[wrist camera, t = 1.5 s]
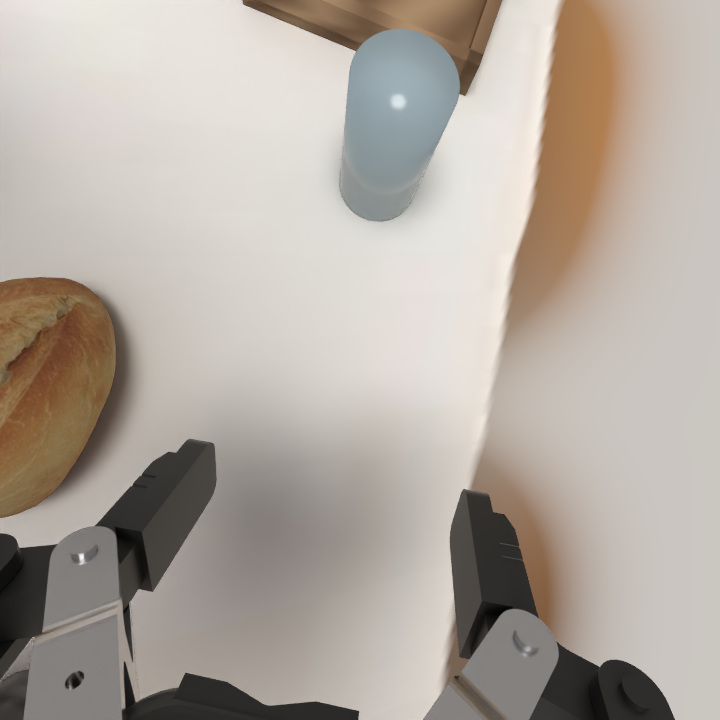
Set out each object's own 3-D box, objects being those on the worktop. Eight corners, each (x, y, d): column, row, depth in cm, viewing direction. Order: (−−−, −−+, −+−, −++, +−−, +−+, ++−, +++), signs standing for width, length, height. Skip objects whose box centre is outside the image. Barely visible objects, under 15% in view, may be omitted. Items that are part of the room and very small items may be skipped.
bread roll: (170, 319, 28) (111, 287, 20) (77, 532, 26) (-28, 591, 18) (32, 268, 27) (-85, 215, 19) (-72, 482, 25) (-248, 521, 18)
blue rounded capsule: (328, 204, 30) (333, 107, 20) (354, 138, 30) (371, 11, 20) (400, 232, 30) (440, 150, 20) (423, 165, 31) (473, 55, 21)
